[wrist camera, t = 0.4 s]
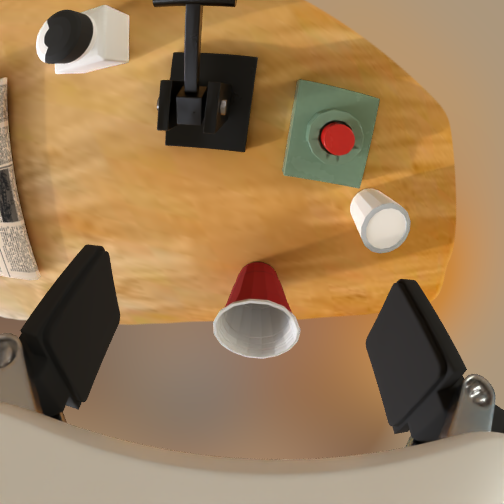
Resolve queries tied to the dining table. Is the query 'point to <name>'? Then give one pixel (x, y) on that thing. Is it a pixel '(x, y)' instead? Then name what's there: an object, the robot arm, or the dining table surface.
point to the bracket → (211, 102)
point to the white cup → (379, 220)
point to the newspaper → (12, 210)
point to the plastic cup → (257, 315)
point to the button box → (313, 122)
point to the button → (337, 138)
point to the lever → (192, 60)
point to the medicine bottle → (84, 40)
